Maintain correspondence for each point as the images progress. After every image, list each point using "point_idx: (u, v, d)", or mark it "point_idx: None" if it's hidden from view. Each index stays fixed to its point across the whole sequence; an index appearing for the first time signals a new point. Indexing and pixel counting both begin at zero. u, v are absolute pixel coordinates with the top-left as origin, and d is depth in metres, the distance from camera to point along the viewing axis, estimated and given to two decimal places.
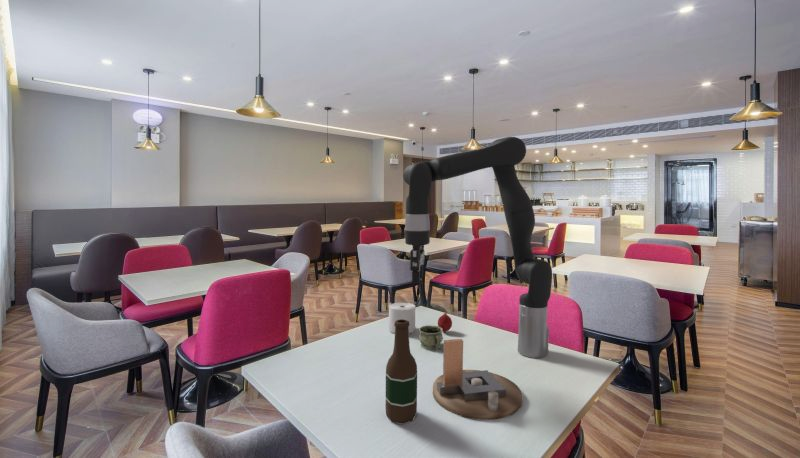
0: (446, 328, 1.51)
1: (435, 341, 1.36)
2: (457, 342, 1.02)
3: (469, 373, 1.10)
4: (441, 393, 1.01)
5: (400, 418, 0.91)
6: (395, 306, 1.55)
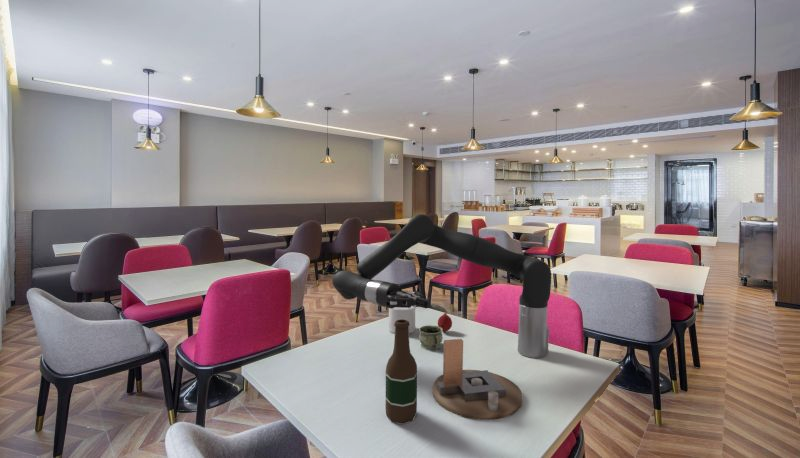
0: (446, 328, 1.51)
1: (435, 341, 1.36)
2: (457, 342, 1.02)
3: (469, 373, 1.10)
4: (441, 393, 1.01)
5: (400, 418, 0.91)
6: None
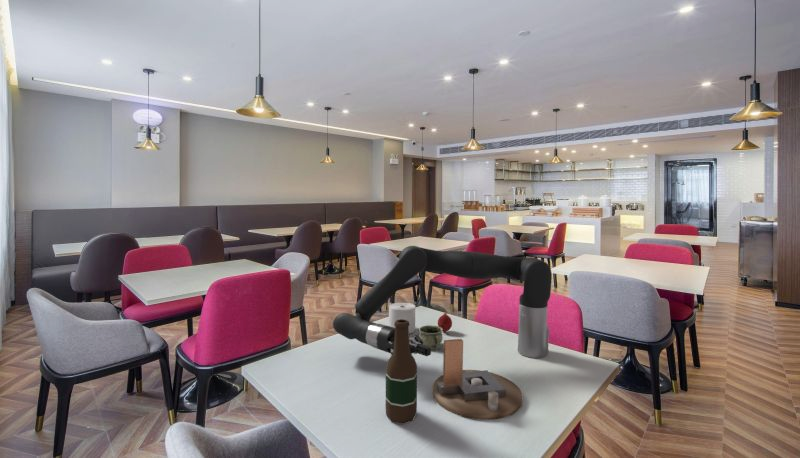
0: (446, 328, 1.51)
1: (435, 341, 1.36)
2: (457, 342, 1.02)
3: (469, 373, 1.10)
4: (441, 393, 1.01)
5: (400, 418, 0.91)
6: (395, 306, 1.55)
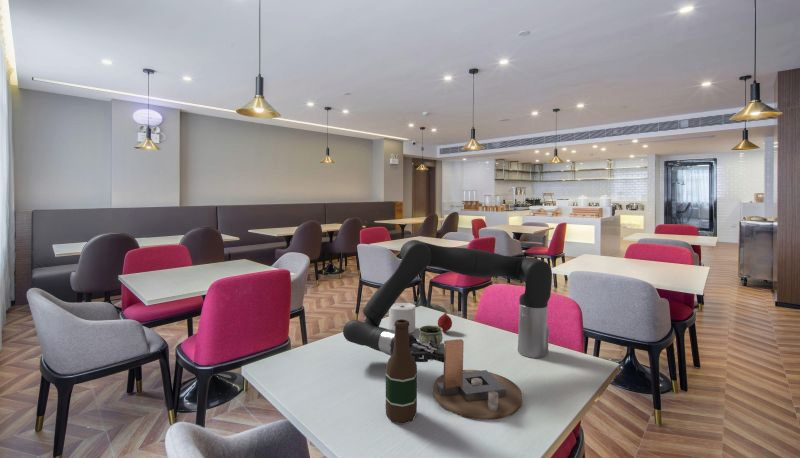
0: (446, 328, 1.51)
1: (435, 341, 1.36)
2: (457, 342, 1.02)
3: (468, 373, 1.10)
4: (442, 394, 1.01)
5: (400, 418, 0.91)
6: (395, 306, 1.55)
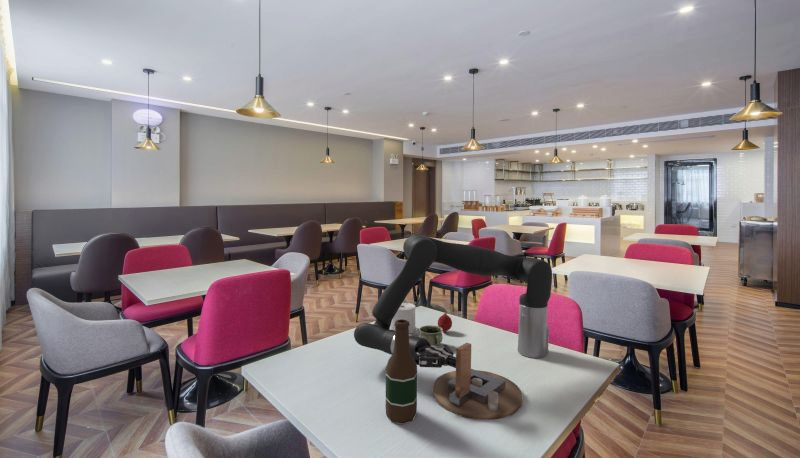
0: (446, 328, 1.51)
1: (435, 341, 1.36)
2: (468, 347, 0.99)
3: None
4: (460, 404, 0.96)
5: (400, 418, 0.91)
6: None
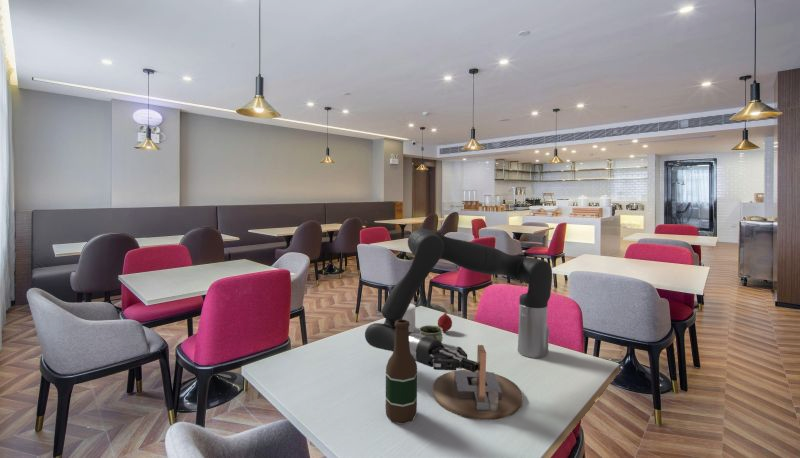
0: (446, 328, 1.51)
1: None
2: None
3: (459, 380, 1.05)
4: (488, 408, 0.94)
5: (400, 418, 0.91)
6: None
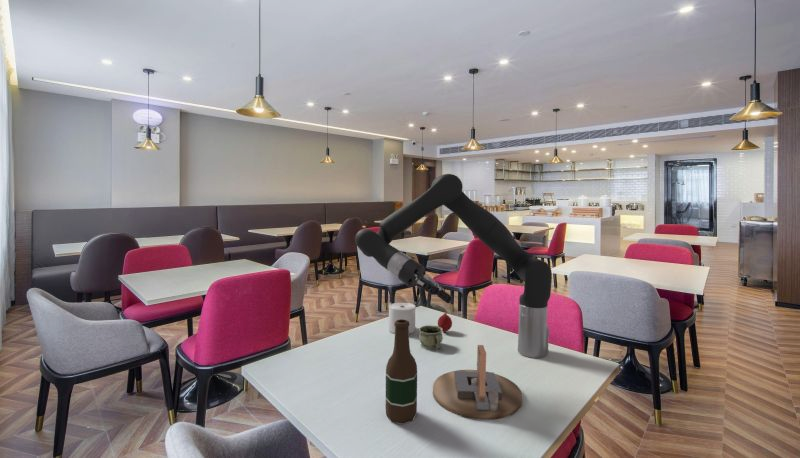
0: (446, 328, 1.51)
1: (435, 341, 1.36)
2: None
3: (459, 380, 1.05)
4: (488, 408, 0.94)
5: (400, 418, 0.91)
6: (395, 306, 1.55)
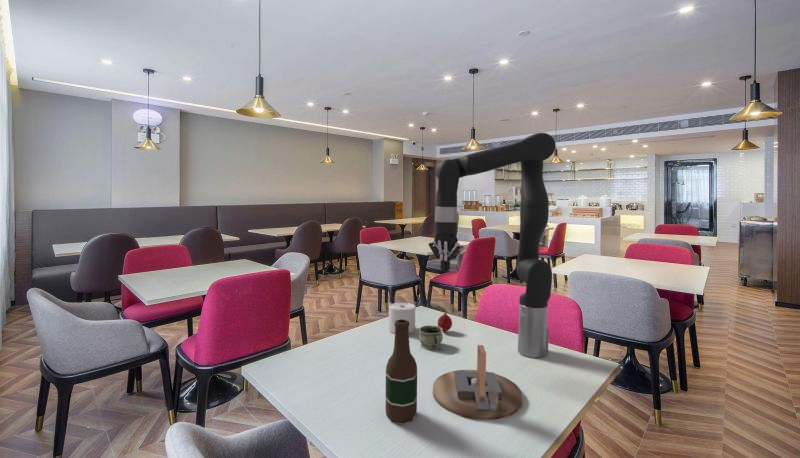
0: (446, 328, 1.51)
1: (435, 341, 1.36)
2: None
3: (459, 380, 1.05)
4: (488, 408, 0.94)
5: (400, 418, 0.91)
6: (395, 306, 1.55)
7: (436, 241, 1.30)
